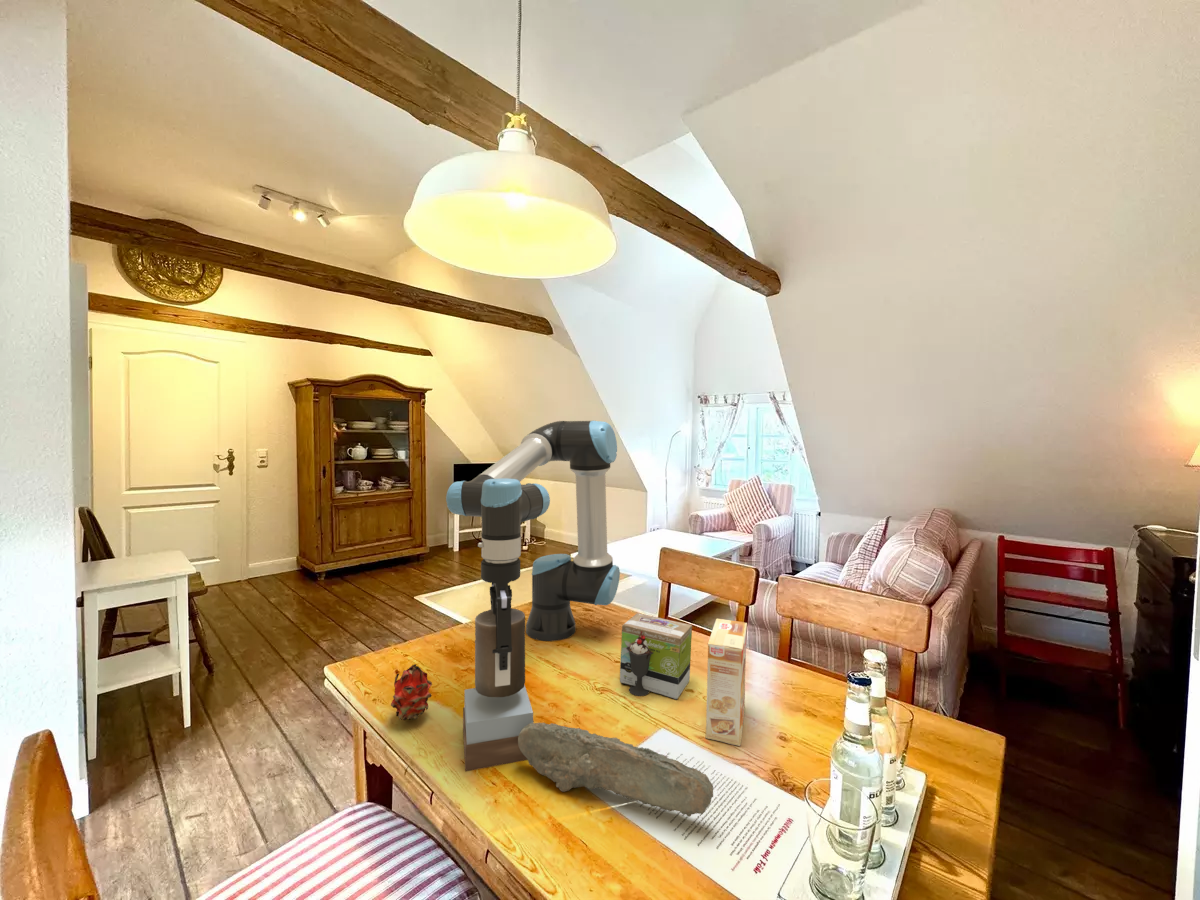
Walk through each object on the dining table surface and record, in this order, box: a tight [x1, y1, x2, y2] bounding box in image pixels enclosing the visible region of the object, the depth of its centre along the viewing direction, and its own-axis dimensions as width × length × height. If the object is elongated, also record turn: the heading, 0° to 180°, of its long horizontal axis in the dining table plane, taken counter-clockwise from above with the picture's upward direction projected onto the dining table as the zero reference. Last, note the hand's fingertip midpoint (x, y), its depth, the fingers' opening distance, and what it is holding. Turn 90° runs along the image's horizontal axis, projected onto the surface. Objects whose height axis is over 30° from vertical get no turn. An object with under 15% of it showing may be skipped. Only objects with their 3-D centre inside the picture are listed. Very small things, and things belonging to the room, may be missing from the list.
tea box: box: [619, 612, 693, 700], centre depth 119 cm, size 15×10×15 cm, turn 63°
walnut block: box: [462, 707, 535, 772], centre depth 96 cm, size 13×13×5 cm
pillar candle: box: [474, 607, 526, 697], centre depth 95 cm, size 10×10×15 cm
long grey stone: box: [518, 722, 714, 817], centre depth 82 cm, size 35×5×10 cm, turn 70°
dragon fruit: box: [390, 663, 433, 721], centre depth 103 cm, size 8×8×12 cm
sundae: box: [626, 631, 653, 697], centre depth 115 cm, size 7×7×15 cm
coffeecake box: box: [705, 618, 748, 747], centre depth 103 cm, size 15×7×20 cm, turn 160°
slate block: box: [464, 684, 534, 745], centre depth 95 cm, size 12×12×4 cm
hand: (499, 671), depth 95 cm, fingers closed on pillar candle, 10 cm apart
